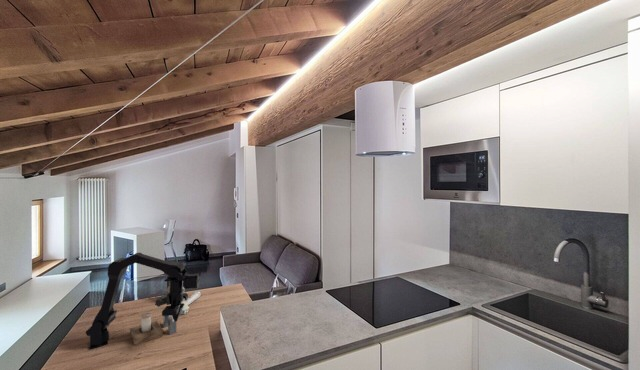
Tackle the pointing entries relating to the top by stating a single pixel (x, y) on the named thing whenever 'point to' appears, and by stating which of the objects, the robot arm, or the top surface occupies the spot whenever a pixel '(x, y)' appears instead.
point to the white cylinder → (145, 322)
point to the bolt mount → (169, 325)
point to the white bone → (190, 301)
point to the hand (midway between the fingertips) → (175, 321)
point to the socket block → (146, 333)
